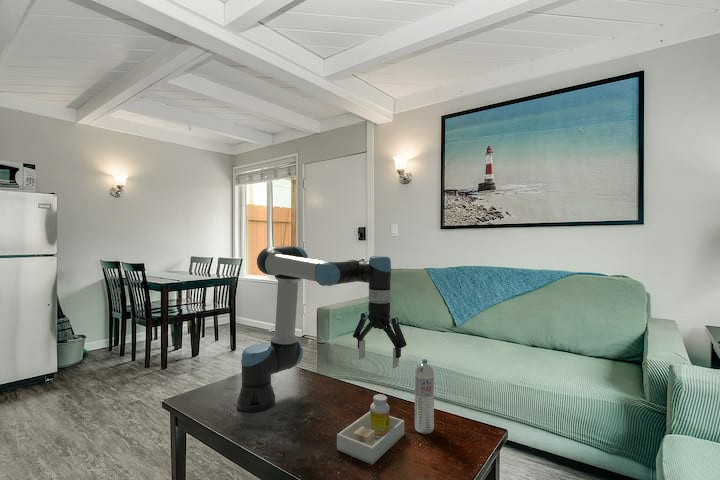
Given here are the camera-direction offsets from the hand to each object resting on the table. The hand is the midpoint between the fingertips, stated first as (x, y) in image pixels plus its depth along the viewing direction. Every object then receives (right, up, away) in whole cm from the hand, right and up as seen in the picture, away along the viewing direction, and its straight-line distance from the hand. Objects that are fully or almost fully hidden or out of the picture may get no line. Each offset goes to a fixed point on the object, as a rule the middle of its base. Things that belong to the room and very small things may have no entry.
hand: (378, 362), depth 128 cm
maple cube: (-5, -25, -8) cm, 26 cm away
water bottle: (+17, -26, +5) cm, 31 cm away
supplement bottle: (0, -25, 0) cm, 25 cm away
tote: (-2, -25, -4) cm, 26 cm away
